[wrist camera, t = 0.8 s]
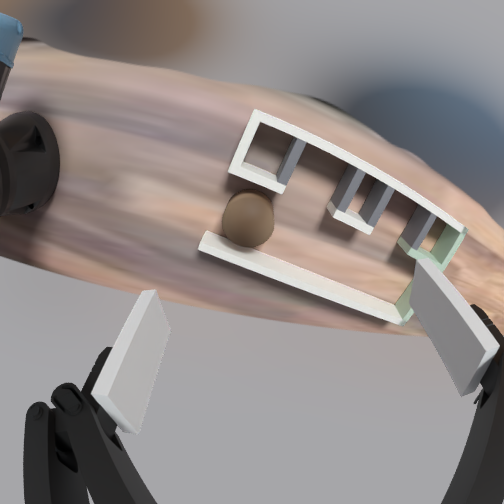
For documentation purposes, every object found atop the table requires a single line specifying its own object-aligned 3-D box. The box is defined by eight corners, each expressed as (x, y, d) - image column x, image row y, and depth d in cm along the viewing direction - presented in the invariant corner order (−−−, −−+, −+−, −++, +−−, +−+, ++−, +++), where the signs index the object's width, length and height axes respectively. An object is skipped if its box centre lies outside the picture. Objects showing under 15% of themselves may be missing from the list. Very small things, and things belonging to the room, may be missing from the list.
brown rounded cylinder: (220, 223, 36) (214, 236, 32) (236, 181, 33) (233, 190, 30) (262, 239, 36) (261, 254, 33) (280, 200, 34) (282, 211, 30)
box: (203, 237, 36) (197, 249, 33) (255, 109, 29) (254, 108, 26) (395, 311, 40) (403, 326, 37) (455, 219, 33) (468, 229, 30)
